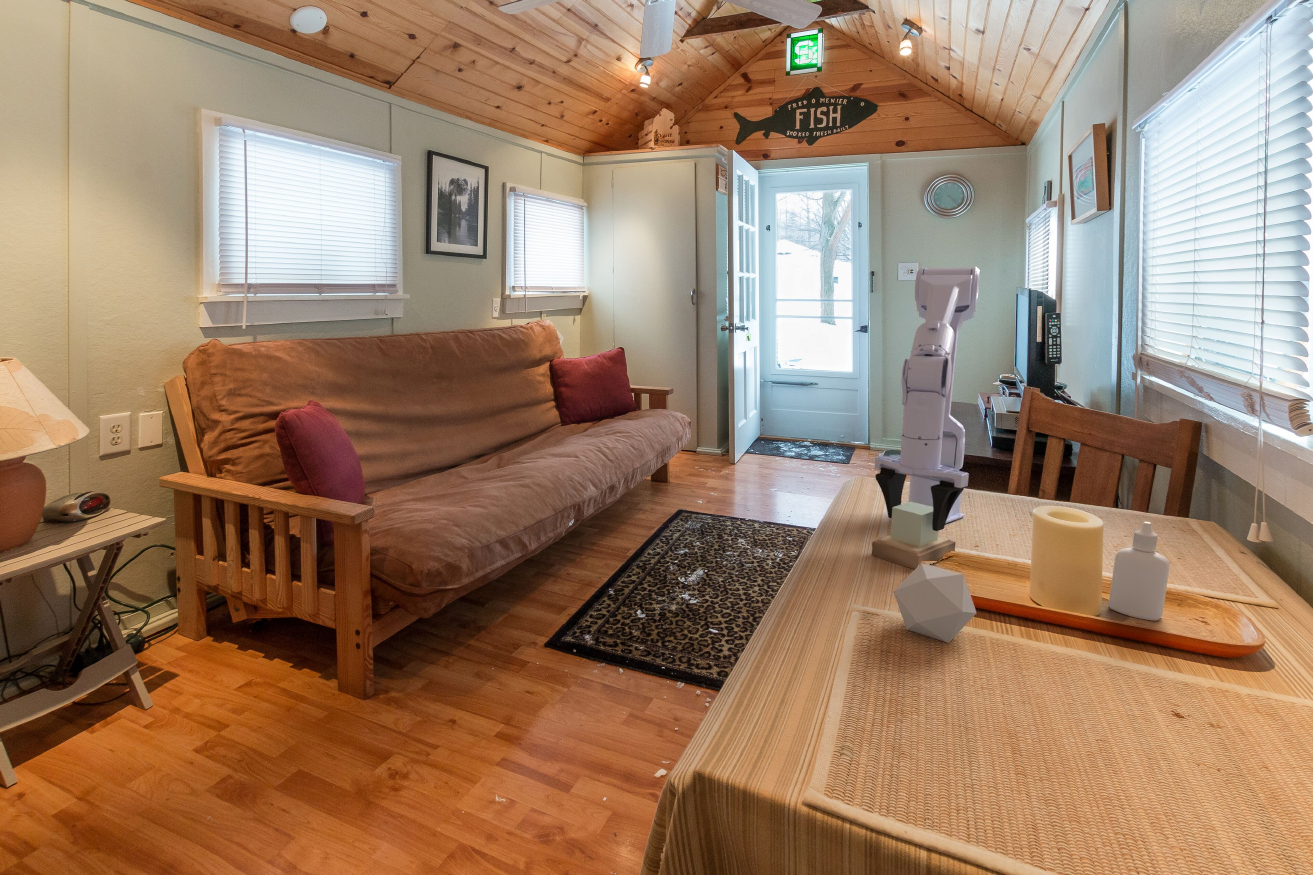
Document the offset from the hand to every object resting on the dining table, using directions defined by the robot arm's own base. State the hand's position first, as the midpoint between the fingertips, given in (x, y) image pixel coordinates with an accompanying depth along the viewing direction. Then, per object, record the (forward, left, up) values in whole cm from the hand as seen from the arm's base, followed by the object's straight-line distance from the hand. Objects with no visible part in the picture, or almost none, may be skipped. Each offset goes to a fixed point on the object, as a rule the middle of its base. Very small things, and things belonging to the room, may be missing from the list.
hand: (915, 523), depth 110 cm
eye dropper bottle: (-4, +29, -5) cm, 30 cm away
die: (+21, +16, -5) cm, 27 cm away
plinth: (0, 0, -5) cm, 5 cm away
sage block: (0, 0, -3) cm, 3 cm away
